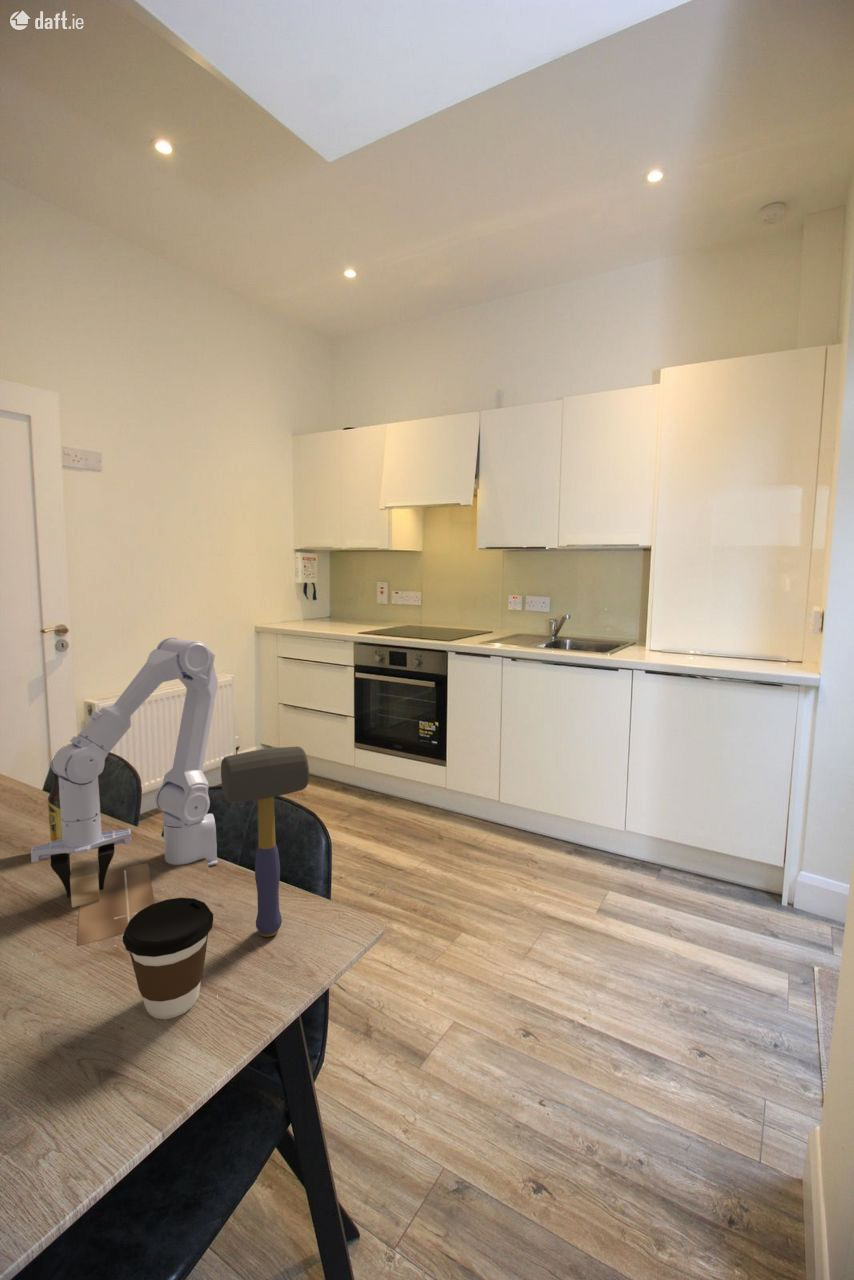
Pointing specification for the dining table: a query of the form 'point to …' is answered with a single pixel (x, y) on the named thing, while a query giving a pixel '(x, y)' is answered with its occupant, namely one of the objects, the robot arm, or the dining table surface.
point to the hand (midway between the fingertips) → (85, 890)
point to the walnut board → (116, 904)
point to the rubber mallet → (265, 814)
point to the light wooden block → (84, 882)
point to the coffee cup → (169, 953)
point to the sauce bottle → (55, 810)
